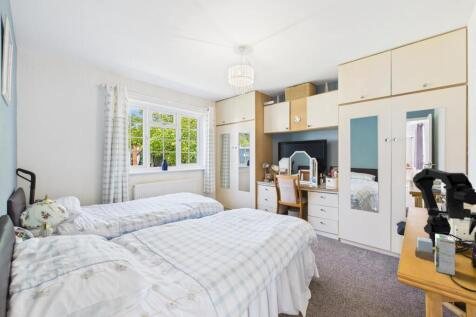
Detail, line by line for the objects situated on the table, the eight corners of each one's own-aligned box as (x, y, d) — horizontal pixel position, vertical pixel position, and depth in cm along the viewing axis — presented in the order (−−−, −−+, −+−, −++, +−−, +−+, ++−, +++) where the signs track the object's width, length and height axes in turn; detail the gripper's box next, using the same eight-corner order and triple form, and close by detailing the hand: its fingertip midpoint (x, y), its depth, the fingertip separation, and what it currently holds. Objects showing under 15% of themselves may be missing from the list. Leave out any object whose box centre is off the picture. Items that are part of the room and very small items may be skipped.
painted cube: (417, 246, 103) (417, 236, 103) (430, 249, 100) (430, 238, 100) (418, 250, 99) (418, 240, 99) (432, 253, 96) (432, 242, 96)
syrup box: (434, 265, 92) (434, 233, 92) (453, 269, 88) (453, 236, 88) (435, 271, 88) (435, 237, 87) (456, 276, 84) (455, 240, 83)
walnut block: (417, 252, 104) (417, 245, 104) (436, 257, 99) (436, 249, 99) (415, 257, 100) (415, 250, 100) (435, 262, 95) (435, 255, 95)
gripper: (427, 200, 97) (428, 233, 97) (489, 206, 85) (490, 243, 85) (427, 196, 105) (427, 226, 106) (483, 200, 93) (484, 235, 93)
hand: (455, 232), depth 97 cm, fingers open, 9 cm apart
